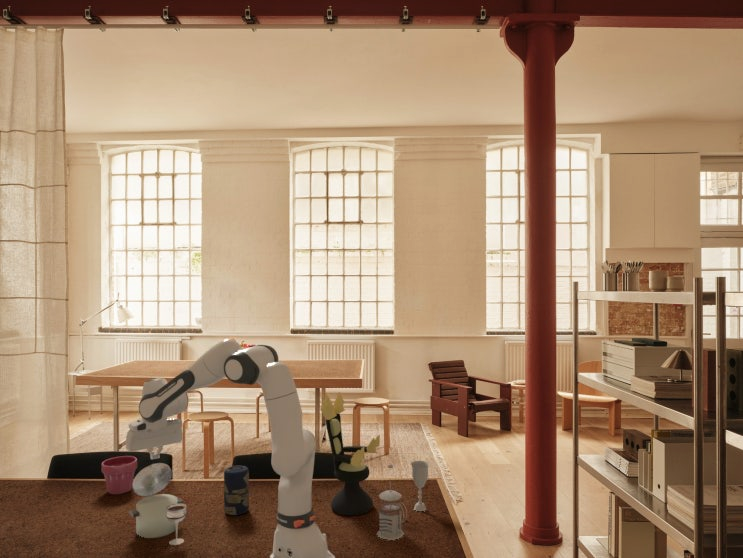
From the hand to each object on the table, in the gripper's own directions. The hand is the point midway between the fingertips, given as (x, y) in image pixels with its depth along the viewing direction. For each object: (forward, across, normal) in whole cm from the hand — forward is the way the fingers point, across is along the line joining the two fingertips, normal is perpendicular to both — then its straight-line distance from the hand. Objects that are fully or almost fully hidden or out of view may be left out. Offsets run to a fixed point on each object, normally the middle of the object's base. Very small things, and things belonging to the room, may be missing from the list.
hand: (155, 458), depth 211 cm
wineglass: (+24, 0, +20) cm, 32 cm away
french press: (+24, -60, +65) cm, 92 cm away
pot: (+24, +2, +6) cm, 25 cm away
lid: (+7, +2, +2) cm, 8 cm away
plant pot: (+24, +1, -42) cm, 48 cm away
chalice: (+24, -84, +56) cm, 104 cm away
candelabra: (+24, -62, +36) cm, 76 cm away
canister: (+24, -27, +11) cm, 38 cm away
